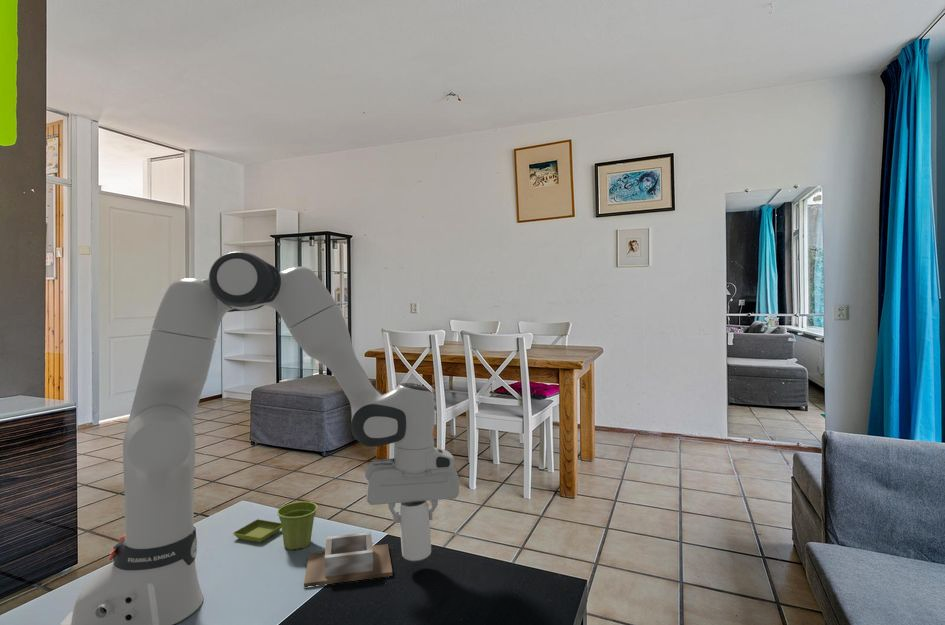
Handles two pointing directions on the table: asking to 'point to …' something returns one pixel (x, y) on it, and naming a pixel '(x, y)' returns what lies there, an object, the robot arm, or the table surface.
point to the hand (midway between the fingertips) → (412, 520)
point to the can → (415, 530)
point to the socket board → (348, 560)
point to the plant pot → (297, 523)
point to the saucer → (258, 530)
